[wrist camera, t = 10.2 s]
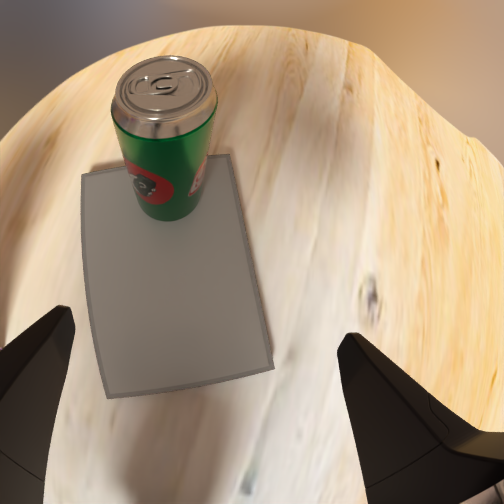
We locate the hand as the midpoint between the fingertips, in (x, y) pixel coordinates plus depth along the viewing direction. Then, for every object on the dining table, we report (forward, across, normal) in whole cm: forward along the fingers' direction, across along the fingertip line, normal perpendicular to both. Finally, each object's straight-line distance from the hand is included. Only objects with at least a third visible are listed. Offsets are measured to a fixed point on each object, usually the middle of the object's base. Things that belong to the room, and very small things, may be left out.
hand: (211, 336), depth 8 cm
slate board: (+12, +2, +7) cm, 14 cm away
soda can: (+16, +3, +2) cm, 16 cm away
